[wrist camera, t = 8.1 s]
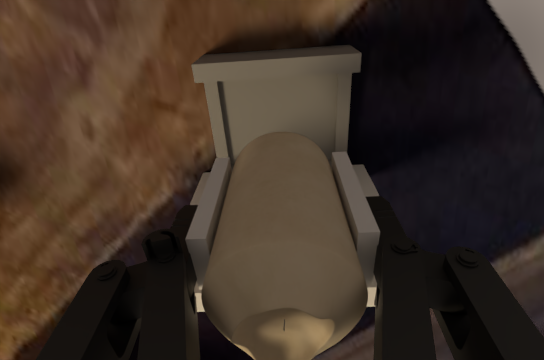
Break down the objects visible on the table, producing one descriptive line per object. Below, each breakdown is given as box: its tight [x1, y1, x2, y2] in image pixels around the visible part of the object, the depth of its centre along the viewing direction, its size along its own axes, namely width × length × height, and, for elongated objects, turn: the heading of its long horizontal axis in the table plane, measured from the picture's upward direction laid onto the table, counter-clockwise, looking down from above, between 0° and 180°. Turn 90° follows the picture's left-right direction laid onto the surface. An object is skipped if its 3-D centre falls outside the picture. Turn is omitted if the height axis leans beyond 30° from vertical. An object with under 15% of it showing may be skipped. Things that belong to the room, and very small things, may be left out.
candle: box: [201, 132, 368, 360], centre depth 13 cm, size 6×6×10 cm
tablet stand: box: [190, 45, 379, 312], centre depth 21 cm, size 15×12×14 cm
